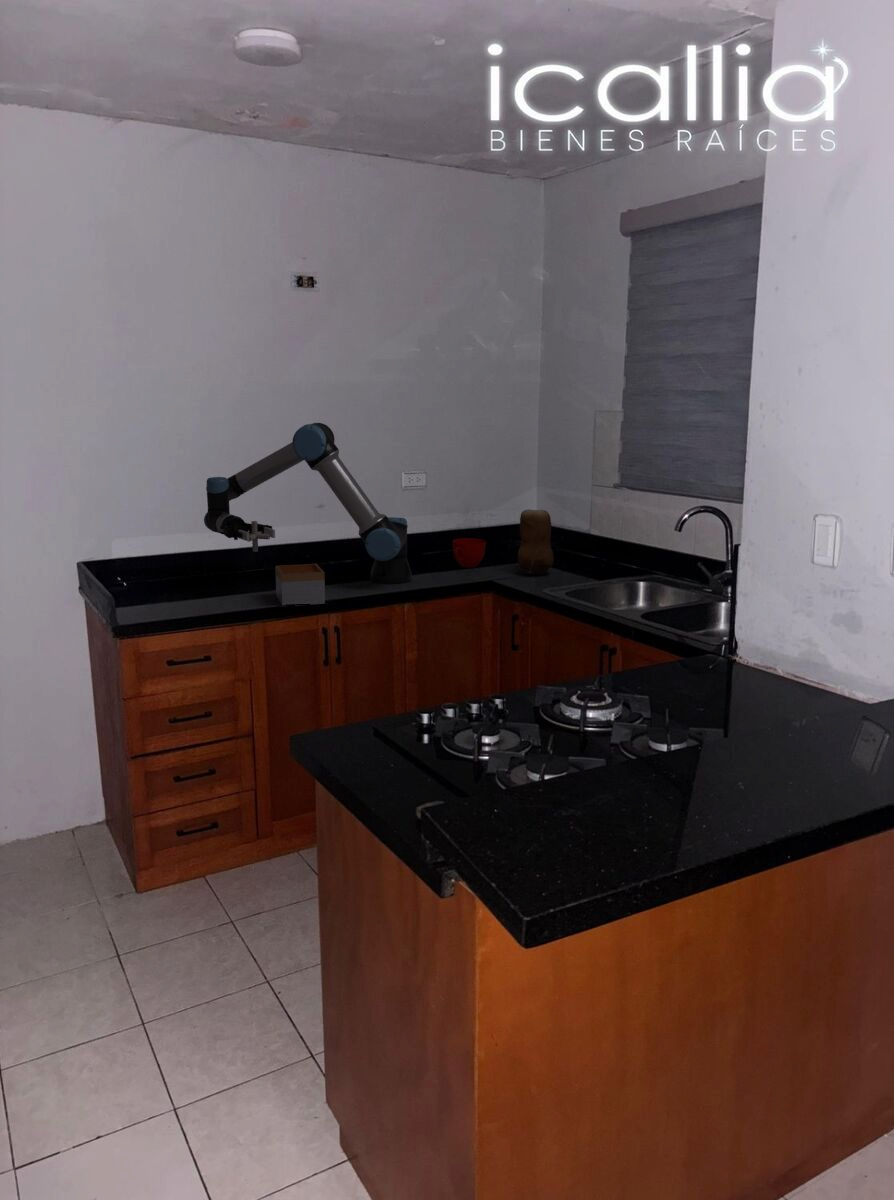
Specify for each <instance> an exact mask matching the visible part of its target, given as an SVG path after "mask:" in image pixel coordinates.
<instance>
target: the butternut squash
mask: <svg viewBox="0 0 894 1200" xmlns="http://www.w3.org/2000/svg"><path fill="white" fill-rule="evenodd" d="M519 536H520V545H519V548H518V552H517V562H518V563H517V564H518V567H519V569H521V570H522V571H524V572H525V573H526V574H529V575H532V576H542V575H544V574H545V573H546V572H548V570H550V569H551V567H552V566H553V564H554V560H555V559H554V552H553V549H552V546H551V537H552V519H551V515H550V513H549V512H548V511H547V510H546V509H531V508H530V509H525V510H522V512H521V513H520V517H519Z"/></svg>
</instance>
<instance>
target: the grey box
mask: <svg viewBox="0 0 894 1200" xmlns="http://www.w3.org/2000/svg"><path fill="white" fill-rule="evenodd" d="M325 575H326V574H325V571H324V570H323V569H322V568H321V567H320V566H319V565H318V564H317V563H308V564H307V563H305V564H287V565H284V564H283V565H275V592H276V596H277V597H276V599H277V600H278V599H279V600H278V601H280V602H281V603H280V602H279V603H280V605H281V604H282V605H286V604H310V605H324V604H326V595H325V594H326V589H325V588H326V587H325V586H326V585H325V584H326V582H325V581H326V580H325V579H326V578H325ZM282 605H281V606H282Z"/></svg>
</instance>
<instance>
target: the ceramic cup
mask: <svg viewBox="0 0 894 1200" xmlns="http://www.w3.org/2000/svg"><path fill="white" fill-rule="evenodd" d="M486 543H487V542H486V540H485V539H481V538H474V537H473V538H472V537H471V538H470V537H464V538H456V539H453V540H452V551H453V557H454V559H455V561H456V562H457V563H458V565H459V566H460V567H461V568H465V569H466V568H467V569H468V568H469V569H473V568H477V567H478V566H479V565H480V563H481V562H482V561H483V559H484V556H485V551H486V545H487V544H486Z"/></svg>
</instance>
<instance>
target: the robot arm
mask: <svg viewBox="0 0 894 1200" xmlns="http://www.w3.org/2000/svg"><path fill="white" fill-rule="evenodd" d="M291 441H292V442H290V443H288V444H287V445H285V446H283V447H281V448H280V449H278V450H276V451H274V452H272V453H271V454H269V455H267V456H265V457H264V458H261V459H260V460H258V461H256V462H254V463H253V464H250V465H249V466H246V468H243V469H242V470H241V471H238V472H237V473H235V474H233V475H231V476H229V477H224V476H213V477H209V478H207V479H206V488H205V490H206V499H207V500H206V501H207V512H206V513H205V515H204V517H203V523H204V526H205V527H206V529H208V530H210V531H211V532H212V533H213V532H214V533H217V534H221V535H223V536H225V537H226V538H228V539H233V540H234V541H237V540H238V539H240V540H243V541H246V542H248V541H249V533H252V523H249V522H248V523H247V522H245V520H244V519H243V518H242V517H240V516H238V515H235V514H231V513H230V512H231V511H230V502H231V501H232V500H236V499H238V498H239V497H240V496H242V495H244V494H245V493H247V492H249V491H250V490H251V491H252V490H253V489H254V488H257V486H259V485H262V484H264V483H265V482H268V481H269V480H270V479H272V478H274V477H277V476H278V475H279V474H282V473H284V472H285V471H287V470H289V469H291V468H292V467H294V466H297V465H298V464H300V463H302V462H303V461H305V462H306V464H307V465H308V467H309V468H310V470H312V471H317V472H318V473H319V474H320V476H321V477H322V479H323V481H324V482H326V484H327V486H328V487H329V488H330V489H331V491H332V492H333V494H334V495H335V497H336V498H337V499H338V500H339V502H340V504H341V505H342V506H343V507H344V508H345V510H346V512H347V513H348V515H349V516H350V517H351V519H352V520H353V521H354V523H355V524H356V525H357V527H358V536H359V537H360V538H361V540H362V541H363V542H364V546H365V550H366V552H367V553H368V555H369V556H370V558H372V559H374V560H373V561H374V562H373V564H372V568H371V571H370V574H369V575H370V576H369V577H370V581H372V582H374V583H379V584H390V585H391V584H404V583H408V582H411V581H412V571H411V567H410V564H409V561H408V527H409V526H408V521H407V519H406V518H405V517H391V516H390V517H389V516H387V515H386V514H384V513H380V512H379V511H378V509H377V508H376V507H375V506H374V504H373V503H372V502H371V500H370V498H369V497H368V496H367V494H366V493H365V492H364V490H363V489H362V487H361V486H360V485H359V483H358V482H357V480H356V479H355V477H354V476H353V475H352V473H351V472H350V470H349V469H348V468H347V467H346V465H345V464H344V463H343V461H342V460H341V458H340V456H339V453H340V449H339V448H338V447H337V445H336V444H335V441H336V440H335V434H334V431H333V430H332V428H330V426H328V425H326V424H325V423H322V422H313V423H308V424H304V425H302V426H301V427H299V428H298V429H297V430H296V431H295V432H294V434H293V436H292V440H291ZM259 531H262V532H263V534H270V539H276V529H274V528H273V525H269V524H261V523H258V522H257V532H259Z"/></svg>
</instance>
